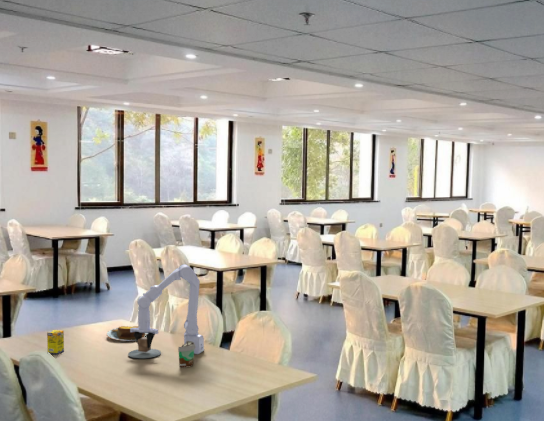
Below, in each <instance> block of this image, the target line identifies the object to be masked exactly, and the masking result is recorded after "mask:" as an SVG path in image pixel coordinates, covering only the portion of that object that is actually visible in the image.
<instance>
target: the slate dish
mask: <svg viewBox="0 0 544 421" xmlns="http://www.w3.org/2000/svg"><path fill="white" fill-rule="evenodd" d="M161 354H162V352H161V350H159V349H156V348H151V350H149V351H147V352H140V351H138V348H137V349H134V350H130V351H129V352H128V354H127V355H128V357H130V358H134V359H150V358H154V357H158V356H160V355H161Z"/></svg>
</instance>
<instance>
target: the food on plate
mask: <svg viewBox="0 0 544 421" xmlns="http://www.w3.org/2000/svg"><path fill="white" fill-rule="evenodd" d="M130 328H138V326H136V325H134V326H128V325H127V326H125V325H121V326H118V327H116V328H112V329H110V330H108V331H107V333H106V337H107V338H108V339H109V340H116V341H117V340H118V341H123V342H133V341H136V338H135V337H134V334H135V332H130ZM147 334H148V333H142V337H144V336H146V335H147Z"/></svg>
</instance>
